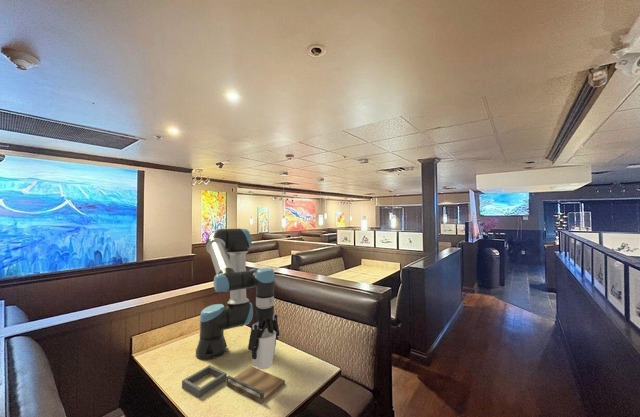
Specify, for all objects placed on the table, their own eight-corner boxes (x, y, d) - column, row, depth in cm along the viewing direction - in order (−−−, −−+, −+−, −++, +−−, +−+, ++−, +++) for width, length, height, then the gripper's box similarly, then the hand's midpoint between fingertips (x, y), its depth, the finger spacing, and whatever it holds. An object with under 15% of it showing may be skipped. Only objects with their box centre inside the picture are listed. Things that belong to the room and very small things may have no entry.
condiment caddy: (181, 387, 108) (182, 380, 108) (209, 371, 119) (209, 365, 119) (199, 398, 102) (199, 390, 102) (226, 380, 113) (226, 373, 113)
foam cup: (280, 363, 110) (280, 332, 110) (264, 374, 102) (265, 340, 102) (263, 356, 115) (264, 327, 115) (248, 366, 107) (248, 334, 107)
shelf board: (226, 386, 109) (226, 376, 109) (251, 369, 121) (251, 360, 121) (261, 404, 99) (261, 393, 99) (284, 383, 111) (284, 374, 111)
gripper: (252, 316, 98) (251, 376, 97) (288, 300, 117) (287, 351, 116) (238, 312, 102) (237, 370, 101) (275, 297, 121) (274, 346, 120)
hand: (264, 360), depth 108 cm, fingers closed on foam cup, 9 cm apart
